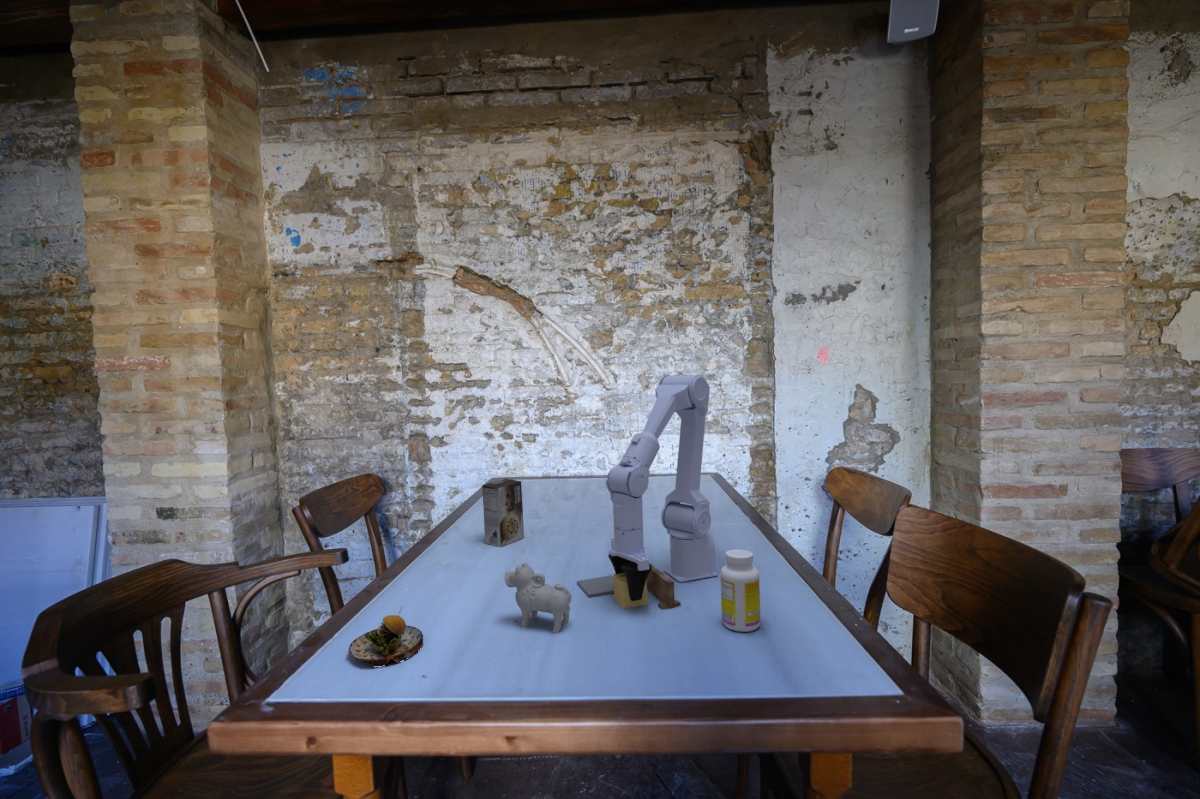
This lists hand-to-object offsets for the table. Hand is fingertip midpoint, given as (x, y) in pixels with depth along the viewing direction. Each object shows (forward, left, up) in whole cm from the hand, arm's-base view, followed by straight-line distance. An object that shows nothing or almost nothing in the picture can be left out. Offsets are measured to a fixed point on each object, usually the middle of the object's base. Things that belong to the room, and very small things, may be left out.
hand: (630, 594), depth 110 cm
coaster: (+3, -9, -1) cm, 10 cm away
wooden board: (-6, 0, -1) cm, 6 cm away
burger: (+45, +1, -2) cm, 45 cm away
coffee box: (+16, -50, -2) cm, 53 cm away
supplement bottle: (-14, +17, -2) cm, 22 cm away
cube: (0, 0, -2) cm, 2 cm away
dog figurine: (+19, +2, -2) cm, 19 cm away
